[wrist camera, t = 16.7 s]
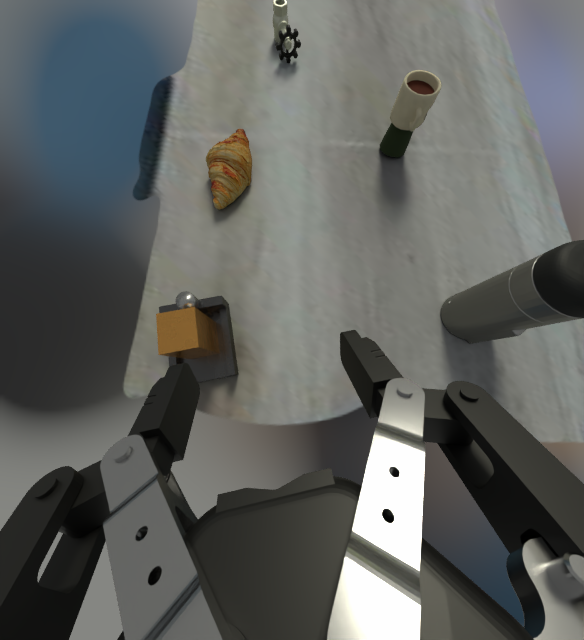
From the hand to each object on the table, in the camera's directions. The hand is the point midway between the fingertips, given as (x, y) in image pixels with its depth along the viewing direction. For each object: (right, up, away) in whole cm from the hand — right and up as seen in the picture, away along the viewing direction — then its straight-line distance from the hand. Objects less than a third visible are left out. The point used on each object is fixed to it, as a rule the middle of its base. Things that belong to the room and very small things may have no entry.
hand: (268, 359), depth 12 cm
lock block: (-15, -2, +30) cm, 33 cm away
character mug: (+26, +44, +43) cm, 67 cm away
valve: (-1, +79, +51) cm, 94 cm away
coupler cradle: (-16, -2, +31) cm, 34 cm away
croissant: (-13, +36, +40) cm, 55 cm away
